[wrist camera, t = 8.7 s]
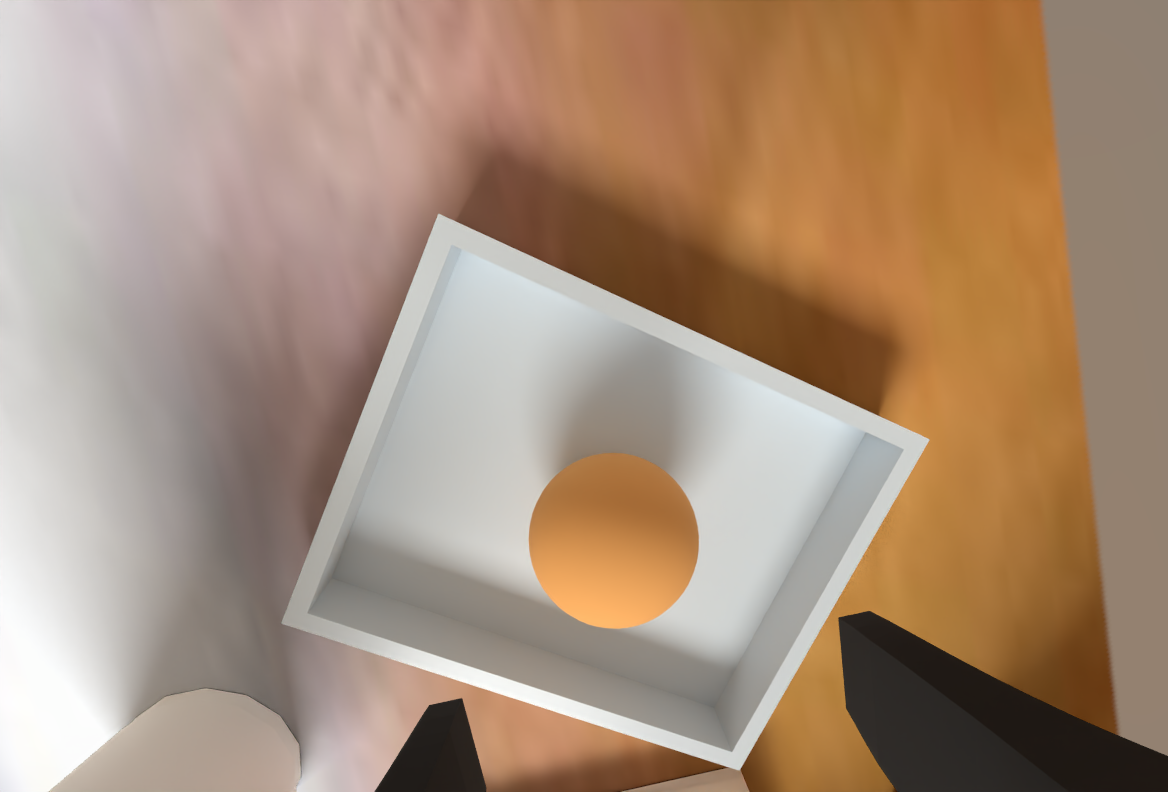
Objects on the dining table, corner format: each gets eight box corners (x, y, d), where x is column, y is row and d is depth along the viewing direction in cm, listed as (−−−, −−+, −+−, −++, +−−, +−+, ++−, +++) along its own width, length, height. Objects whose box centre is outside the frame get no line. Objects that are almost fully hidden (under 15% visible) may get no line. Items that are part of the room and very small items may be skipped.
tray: (878, 418, 19) (929, 439, 17) (715, 712, 22) (739, 770, 19) (453, 223, 17) (438, 213, 14) (315, 577, 19) (280, 623, 16)
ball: (698, 466, 19) (757, 530, 14) (636, 590, 19) (672, 692, 15) (565, 410, 18) (578, 457, 13) (505, 542, 19) (496, 634, 14)
